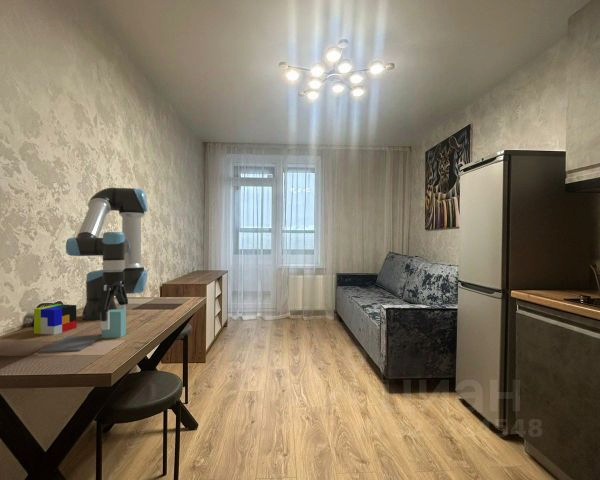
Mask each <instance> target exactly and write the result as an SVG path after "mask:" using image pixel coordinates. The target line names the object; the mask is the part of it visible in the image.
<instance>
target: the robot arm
mask: <svg viewBox="0 0 600 480" xmlns="http://www.w3.org/2000/svg"><path fill="white" fill-rule="evenodd" d="M147 200H148V199H147V196H146V193H145V190H143V189H141V188H131V187H130V188H129V187H127V188H126V187H107V188H104V189H101V190H99V191H97V192H96V193H94V195H93V196H91V198H90V199H89V201H88V203H87V207H88V210H87V212H86V215H85V216H84V219H83V222H82V223H81V225H80V229H79V231H78V233H77V236H74V237H69V238H67V240H66V241H65V251H66V254H67V255H68V256H73V257H89V256H90V257H93V256H98V257H102V263H101V265H102V269H98V270H92V271H88V273H86V279H85V284H86V285H85V289H86V291H85V294H86V295H85V296H86V298H85V299H86V300H85V305H84V308H83V310H82V313H81V318H82V320H87V321H88V320H89V321H95V320H97V321H98V320H100V330H101V331H102V330H108V329H109V312H108V310H115V309H126V305H128V304H129V299H128V294H129V295H132V294H133V295H135V294H141V293H143V292H144V291H145V290H146V285H147V281H148V271H147V270H146V269H145V266H144V265H142V218H143V217H144V216H145V213H147V212H148V201H147ZM112 211H116V212H117V211H118V214H119V216H120V217H121V219H122V220H121V222H122V223H121V224H122V225H121V231H105V232H103V234H102V237H100V234H101V231H102V228H103V225H104V222H105V220H106V216H107V215H108V214H109V213H110V212H112ZM115 299H116V301H117V302H118V305H117V303H116V302H115Z"/></svg>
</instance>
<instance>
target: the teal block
mask: <svg viewBox="0 0 600 480" xmlns="http://www.w3.org/2000/svg"><path fill="white" fill-rule="evenodd" d="M108 312H109V329H108V330H101V335H102V338H101V339H109V338H110V339H112V338H113V339H115V338H122V337H124V336H125V335H126V334H127V331H126V330H127V324H126V323H127V319H126V318H127V314H126V313H127V311H126V308H125V309H118V308H117V309H115V310H108Z"/></svg>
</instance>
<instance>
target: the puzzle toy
mask: <svg viewBox="0 0 600 480" xmlns="http://www.w3.org/2000/svg"><path fill="white" fill-rule="evenodd" d="M74 329H77V304H65V303H62V304H59V303H57V304H52V305H47V306H43V307H42V306H41V307H37V308H33V333H34V334H37V335H38V334H39V335H41V334H42V335H51V336H52V335H57V334H61V333H64V332H68V331H70V330H74Z"/></svg>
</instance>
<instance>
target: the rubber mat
mask: <svg viewBox="0 0 600 480" xmlns="http://www.w3.org/2000/svg"><path fill="white" fill-rule="evenodd" d="M101 339H103V338H102V334H100V335H79V336H78V335H76V336H75V335H74V336H66V337H64V338H62V339H59V340H58V341H56V342H54V343H52V344H49V345H48V346H46V347H45V346H44V347H43V348H41V349H40V350H38V352H37V353H39V354H41V353H42V354H43V353H62V352H63V353H65V352H66V353H67V352H68V353H69V352H81V351H82V350H84V349H86V348H87V347H89V346H91V345H92V344H94V343H96V342H97V341H99V340H101Z"/></svg>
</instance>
